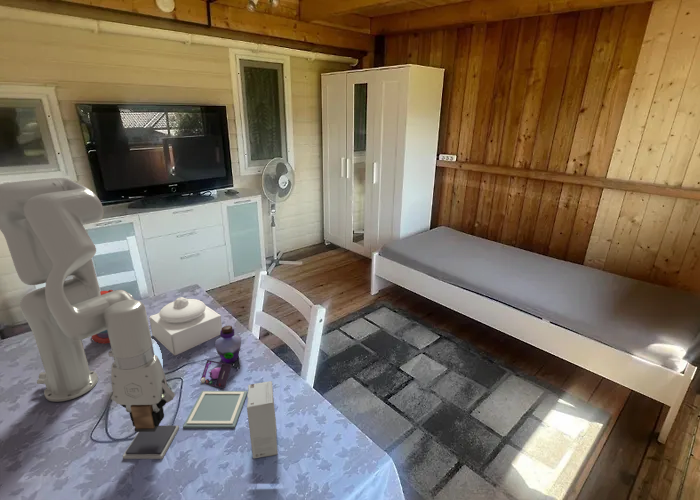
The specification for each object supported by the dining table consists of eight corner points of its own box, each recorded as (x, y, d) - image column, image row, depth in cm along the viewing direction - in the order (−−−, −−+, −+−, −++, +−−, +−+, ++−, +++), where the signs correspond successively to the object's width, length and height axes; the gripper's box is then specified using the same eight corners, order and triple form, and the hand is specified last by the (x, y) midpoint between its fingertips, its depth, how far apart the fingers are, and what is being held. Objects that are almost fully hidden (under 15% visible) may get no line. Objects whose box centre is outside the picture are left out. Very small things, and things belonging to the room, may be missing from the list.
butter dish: (199, 319, 144) (194, 282, 139) (223, 336, 133) (219, 297, 128) (152, 337, 132) (145, 297, 127) (175, 358, 121) (168, 315, 116)
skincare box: (277, 455, 86) (274, 404, 81) (251, 460, 85) (246, 408, 80) (276, 427, 94) (273, 379, 89) (252, 431, 93) (247, 382, 88)
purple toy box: (222, 388, 106) (198, 382, 109) (232, 389, 110) (209, 384, 114) (229, 364, 108) (205, 359, 112) (239, 366, 113) (216, 362, 116)
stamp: (135, 431, 85) (129, 407, 83) (145, 416, 89) (139, 393, 87) (154, 431, 85) (149, 407, 83) (163, 416, 89) (159, 393, 87)
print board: (183, 428, 93) (182, 425, 93) (202, 392, 106) (201, 389, 105) (234, 428, 93) (234, 425, 93) (247, 392, 106) (247, 390, 105)
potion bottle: (221, 371, 115) (217, 337, 111) (212, 357, 121) (208, 325, 117) (248, 361, 119) (245, 329, 115) (238, 348, 126) (235, 317, 122)
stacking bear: (124, 325, 139) (115, 282, 133) (133, 336, 132) (123, 291, 126) (90, 337, 131) (79, 291, 125) (98, 348, 125) (86, 301, 119)
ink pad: (123, 458, 85) (122, 454, 84) (143, 427, 93) (142, 423, 93) (162, 458, 85) (161, 454, 84) (179, 428, 93) (178, 424, 93)
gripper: (84, 366, 77) (102, 434, 83) (165, 366, 77) (177, 434, 83) (106, 345, 84) (121, 410, 90) (180, 345, 84) (190, 409, 90)
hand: (148, 421), depth 87 cm, fingers closed on stamp, 4 cm apart
